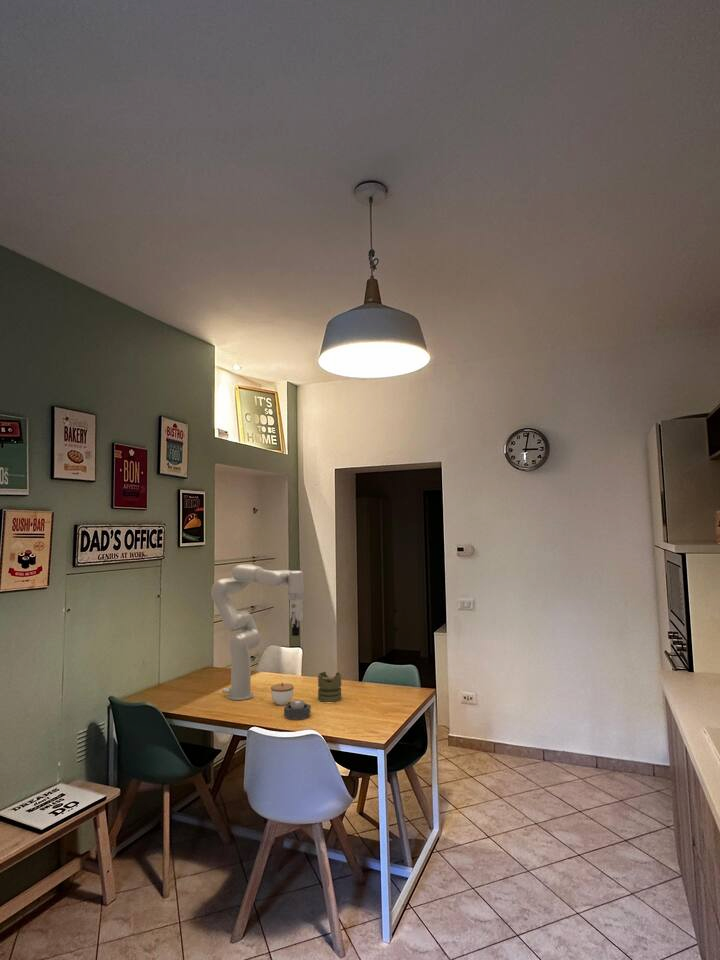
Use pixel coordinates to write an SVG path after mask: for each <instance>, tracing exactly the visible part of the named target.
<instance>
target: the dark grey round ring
mask: <svg viewBox="0 0 720 960" xmlns="http://www.w3.org/2000/svg"><path fill="white" fill-rule="evenodd" d="M311 710H312V709H311V704H309V703H305V702H304V708H303V709H291V703H288V704H286V705H285V706H284V707H283V715H284V718H285V719H287V720H290V721H300V720H301V721H302V720H307V719H308V718H310V717H309V716H311V713H312V711H311Z"/></svg>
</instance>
